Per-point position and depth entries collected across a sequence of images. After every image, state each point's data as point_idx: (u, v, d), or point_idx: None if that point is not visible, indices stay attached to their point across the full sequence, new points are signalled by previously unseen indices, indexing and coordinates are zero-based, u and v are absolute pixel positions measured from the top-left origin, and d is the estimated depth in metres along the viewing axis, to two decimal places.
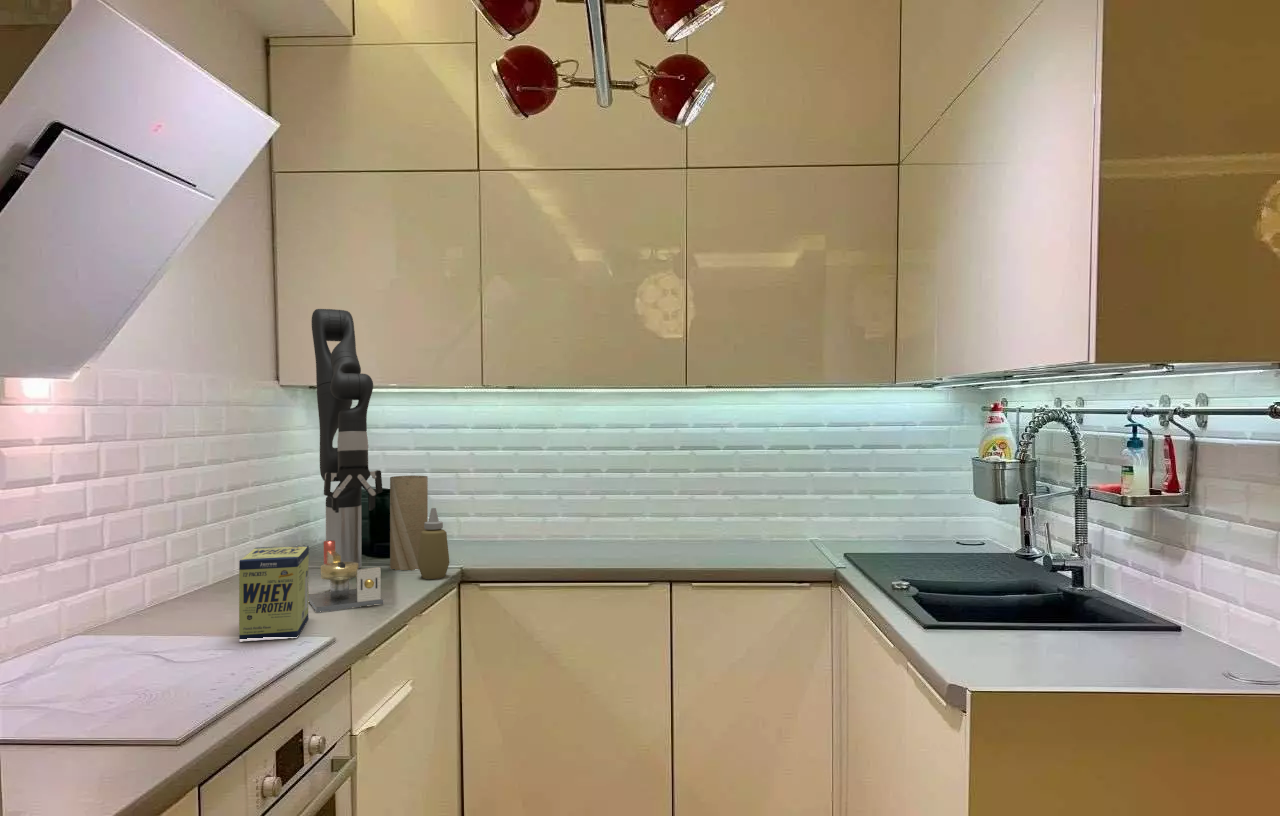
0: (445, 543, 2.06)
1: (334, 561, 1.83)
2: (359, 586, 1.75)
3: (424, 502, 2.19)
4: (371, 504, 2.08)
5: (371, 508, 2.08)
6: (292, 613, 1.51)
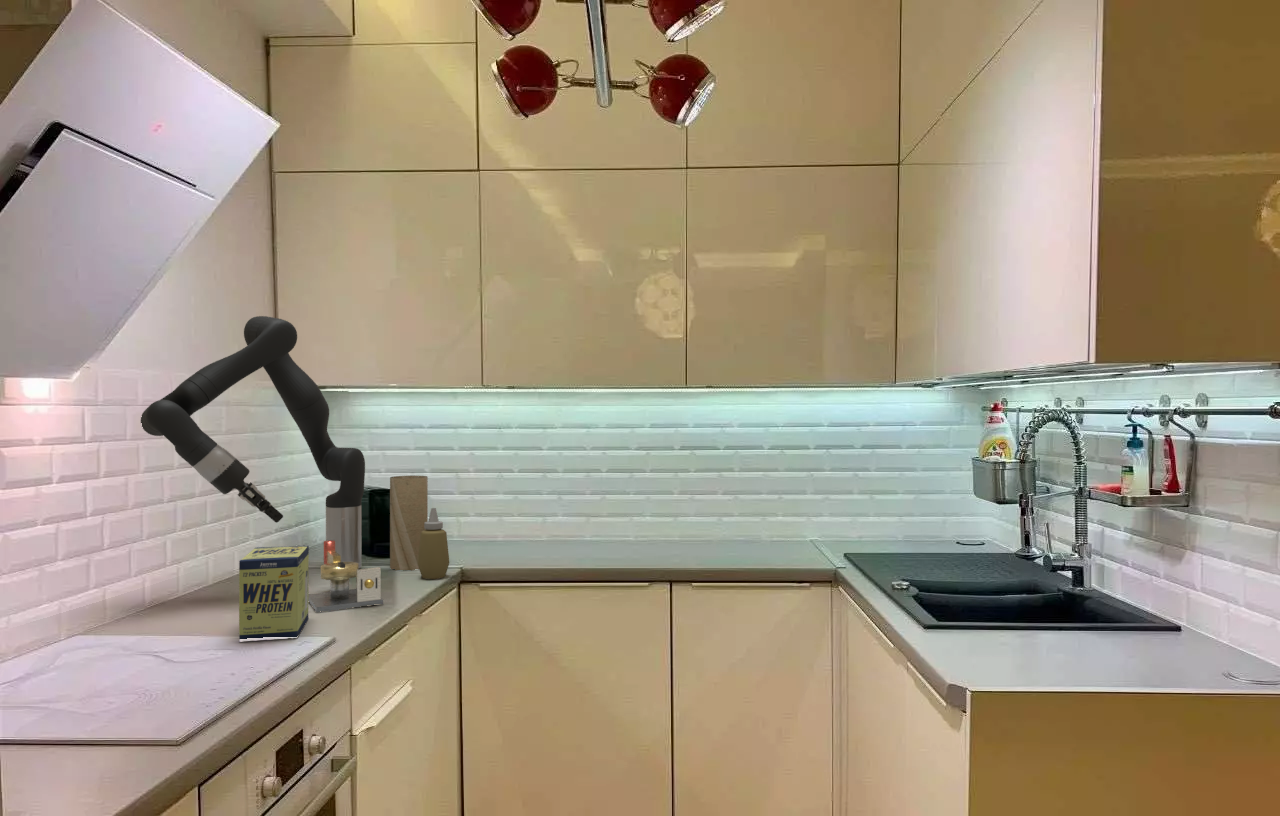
0: (445, 543, 2.06)
1: (334, 561, 1.83)
2: (359, 586, 1.75)
3: (424, 502, 2.19)
4: (271, 518, 1.82)
5: (274, 521, 1.83)
6: (292, 613, 1.51)
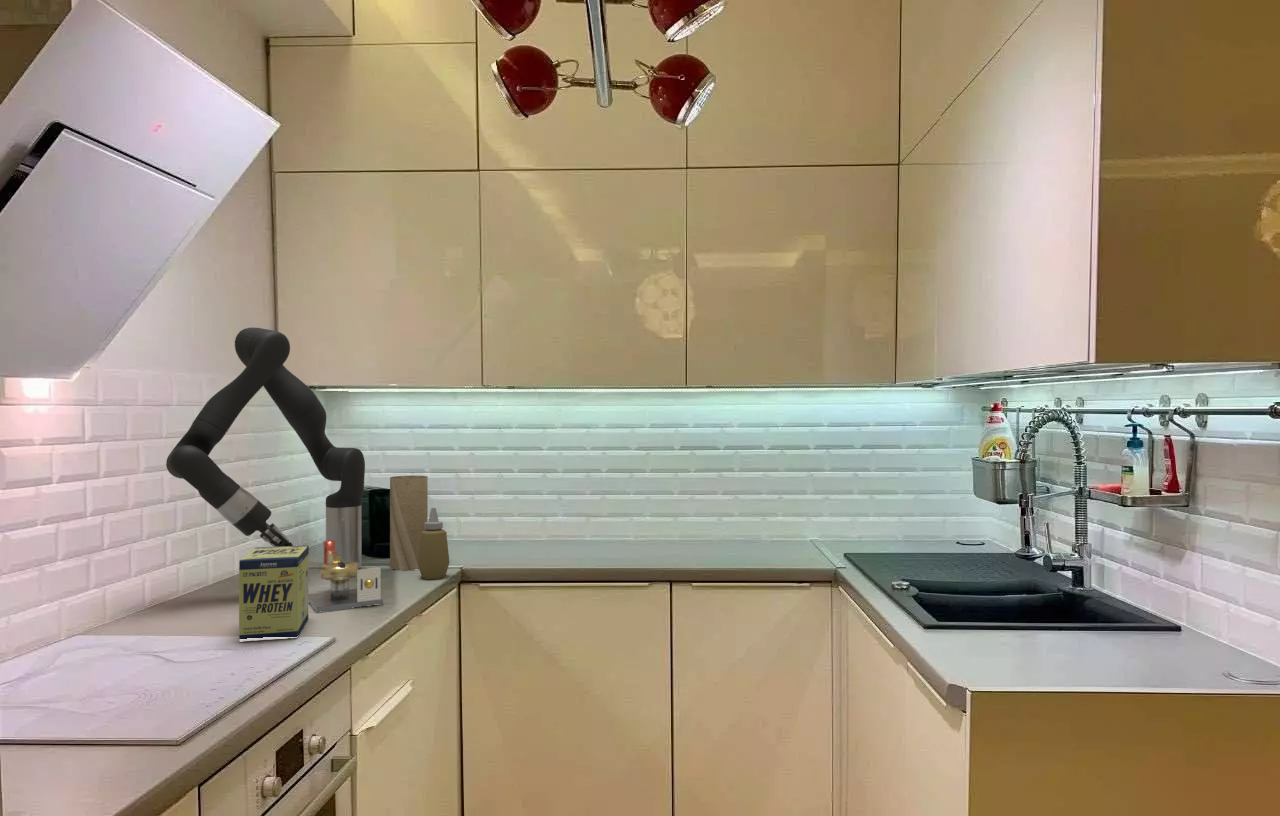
0: (445, 543, 2.06)
1: (334, 561, 1.83)
2: (359, 586, 1.75)
3: (424, 502, 2.19)
4: None
5: None
6: (292, 613, 1.51)
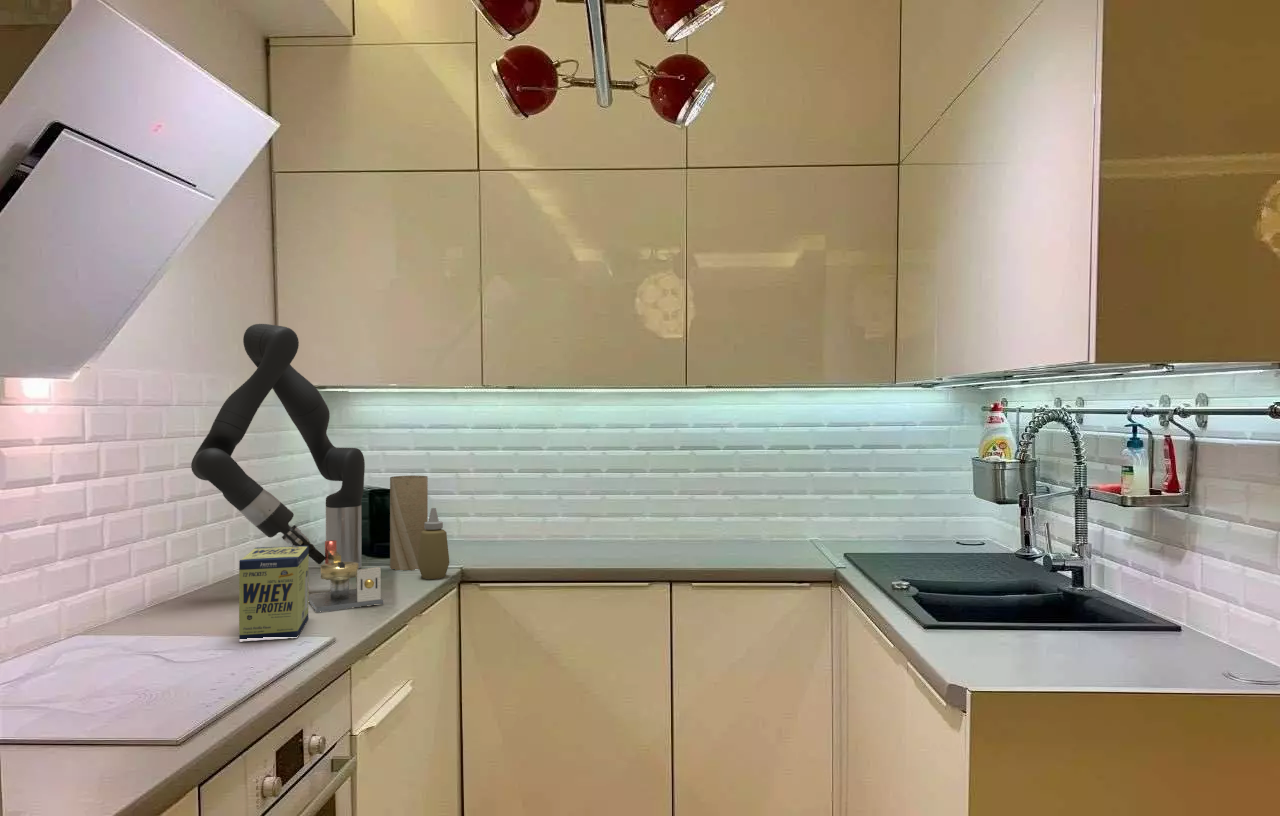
0: (445, 543, 2.06)
1: (334, 561, 1.83)
2: (359, 586, 1.75)
3: (424, 502, 2.19)
4: (314, 560, 1.90)
5: None
6: (292, 613, 1.51)
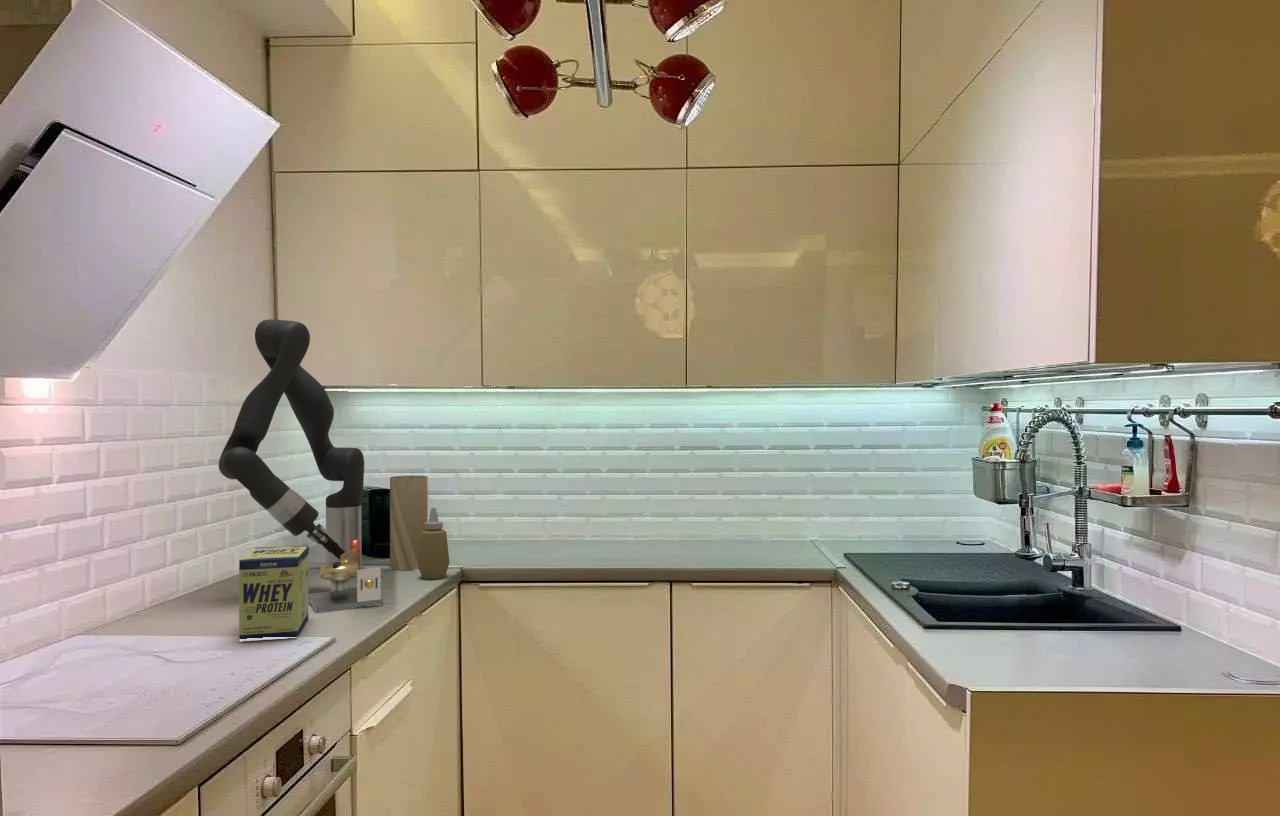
0: (445, 543, 2.06)
1: (341, 560, 1.83)
2: (359, 586, 1.75)
3: (424, 502, 2.19)
4: (338, 558, 1.92)
5: None
6: (292, 613, 1.51)
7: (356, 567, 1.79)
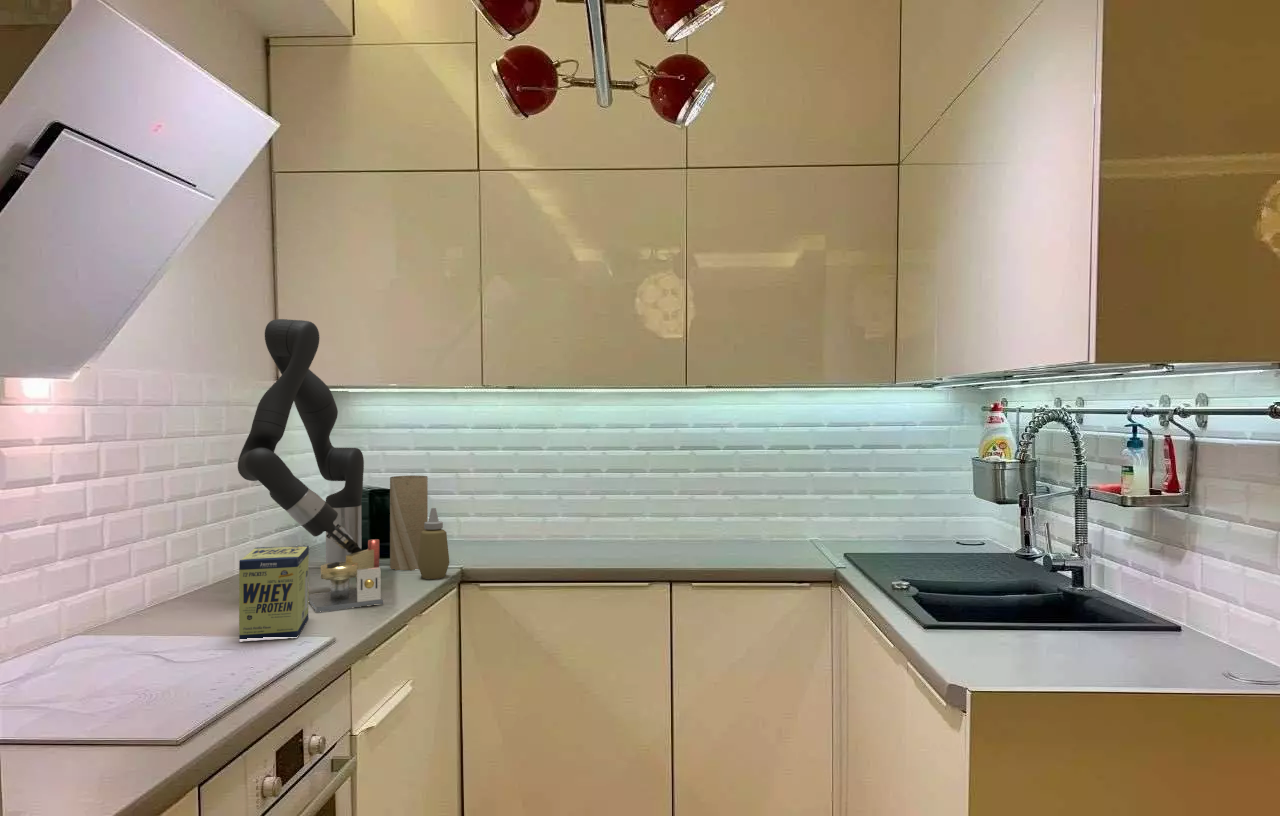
0: (445, 543, 2.06)
1: (347, 560, 1.83)
2: (359, 586, 1.75)
3: (424, 502, 2.19)
4: None
5: None
6: (292, 613, 1.51)
7: (352, 568, 1.78)
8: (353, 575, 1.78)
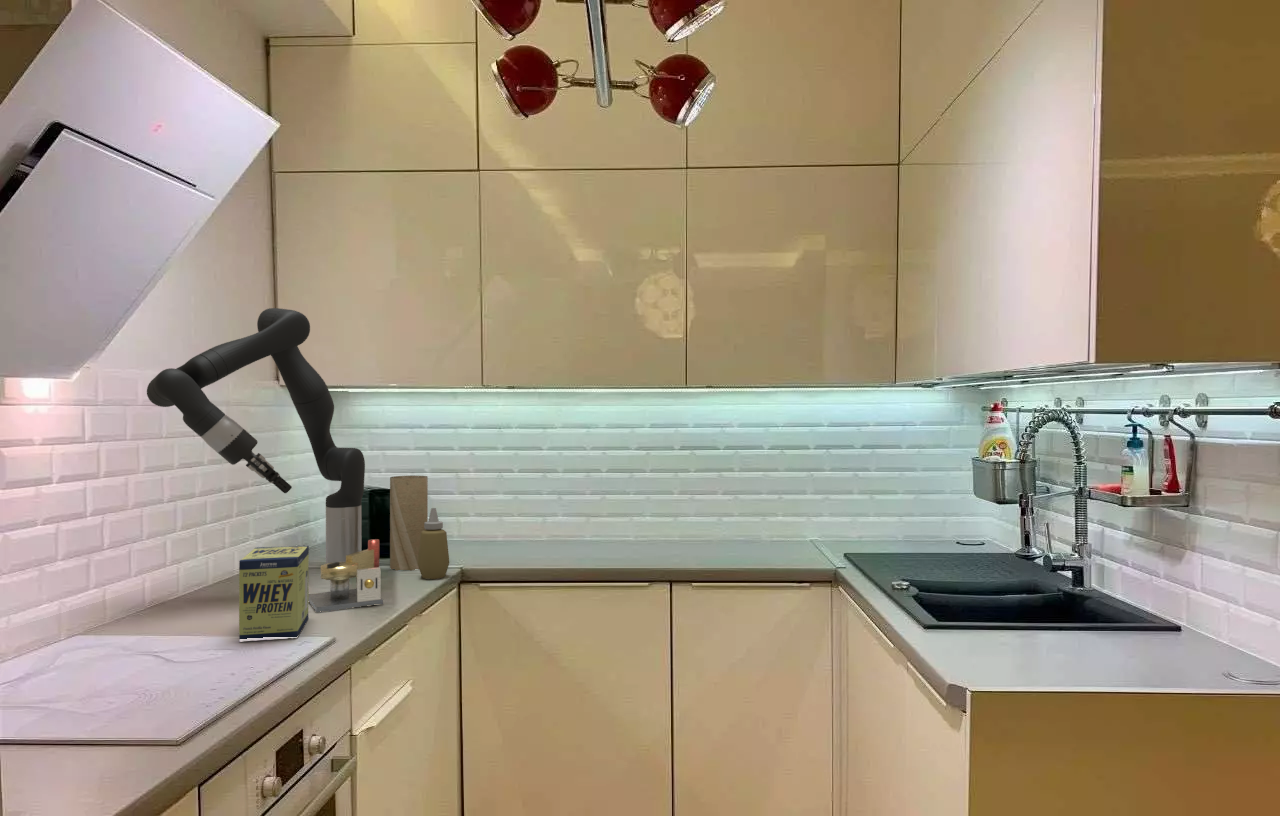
0: (445, 543, 2.06)
1: (347, 560, 1.83)
2: (359, 586, 1.75)
3: (424, 502, 2.19)
4: (280, 489, 1.85)
5: (283, 492, 1.85)
6: (292, 613, 1.51)
7: (352, 568, 1.78)
8: (353, 575, 1.78)
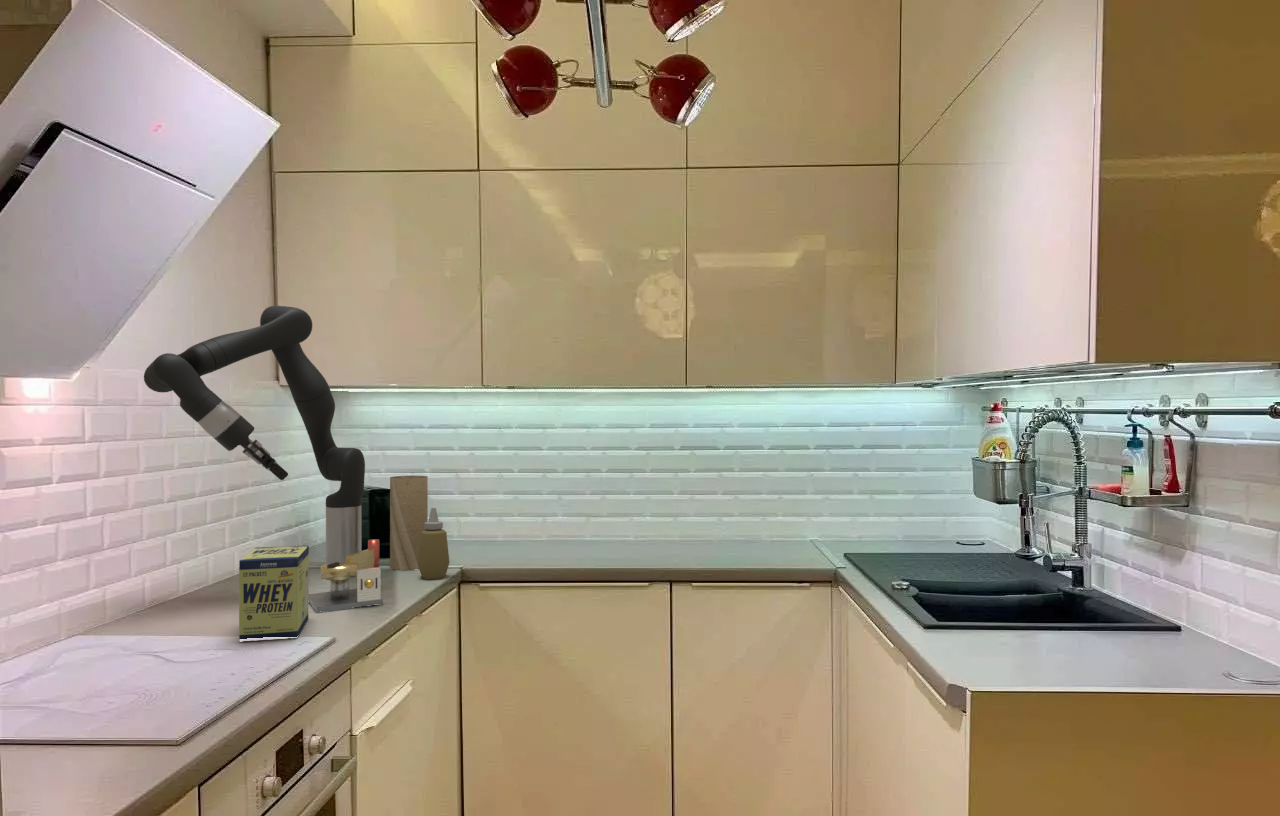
0: (445, 543, 2.06)
1: (347, 560, 1.83)
2: (359, 586, 1.75)
3: (424, 502, 2.19)
4: (276, 476, 1.85)
5: (280, 479, 1.85)
6: (292, 613, 1.51)
7: (352, 568, 1.78)
8: (353, 575, 1.78)
